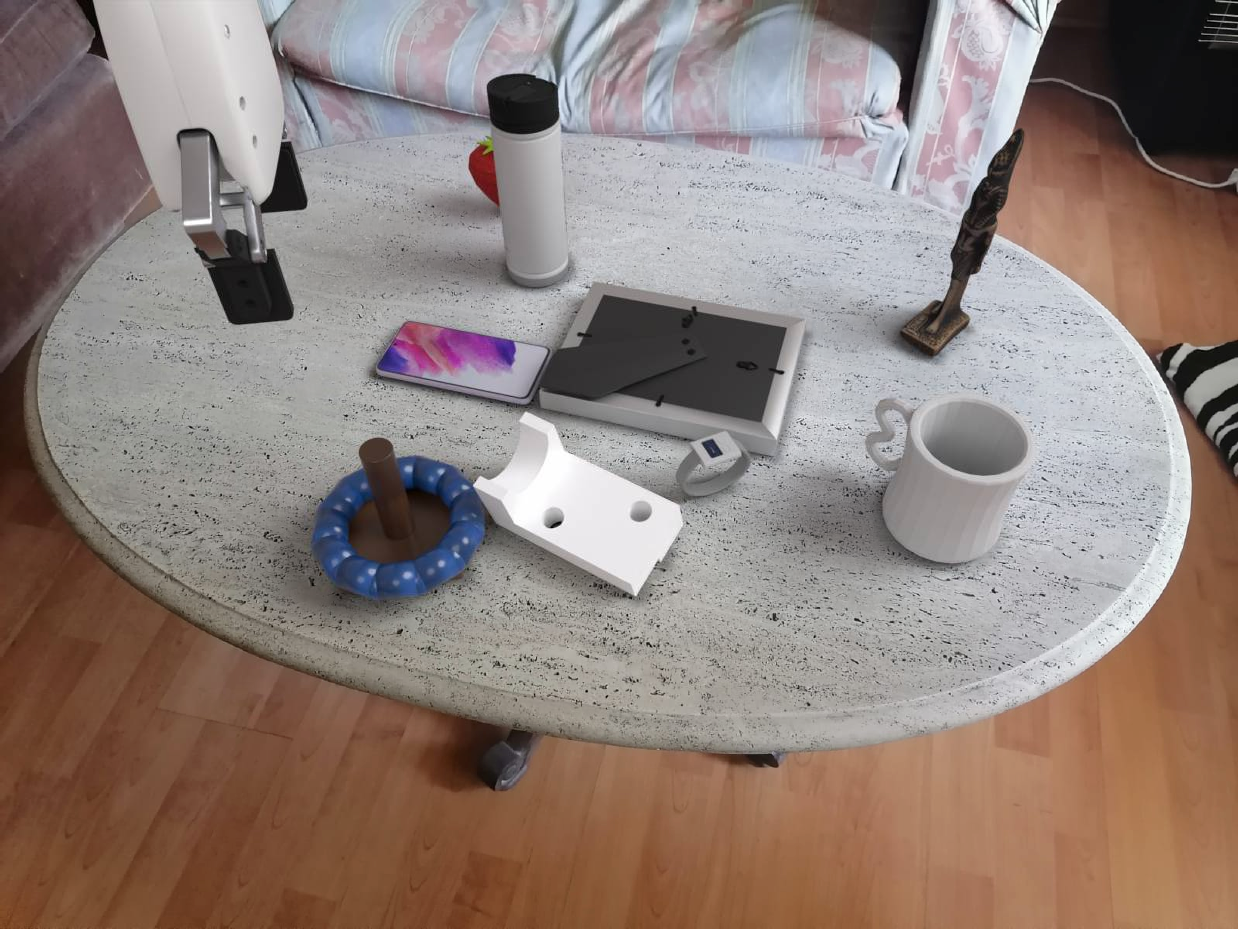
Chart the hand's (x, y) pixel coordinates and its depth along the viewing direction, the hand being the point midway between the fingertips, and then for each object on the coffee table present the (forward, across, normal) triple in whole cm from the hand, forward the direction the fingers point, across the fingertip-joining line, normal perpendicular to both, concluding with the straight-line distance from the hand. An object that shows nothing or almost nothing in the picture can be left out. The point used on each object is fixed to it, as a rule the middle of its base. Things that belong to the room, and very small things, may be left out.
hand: (272, 260), depth 51 cm
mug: (+28, +1, +43) cm, 52 cm away
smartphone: (+28, -21, +8) cm, 36 cm away
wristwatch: (+29, -4, +27) cm, 40 cm away
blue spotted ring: (+26, -2, +2) cm, 26 cm away
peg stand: (+28, -2, +2) cm, 29 cm away
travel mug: (+29, -34, +15) cm, 47 cm away
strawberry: (+29, -46, +13) cm, 55 cm away
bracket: (+29, 0, +16) cm, 33 cm away
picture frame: (+28, -18, +27) cm, 43 cm away
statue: (+28, -19, +52) cm, 62 cm away
